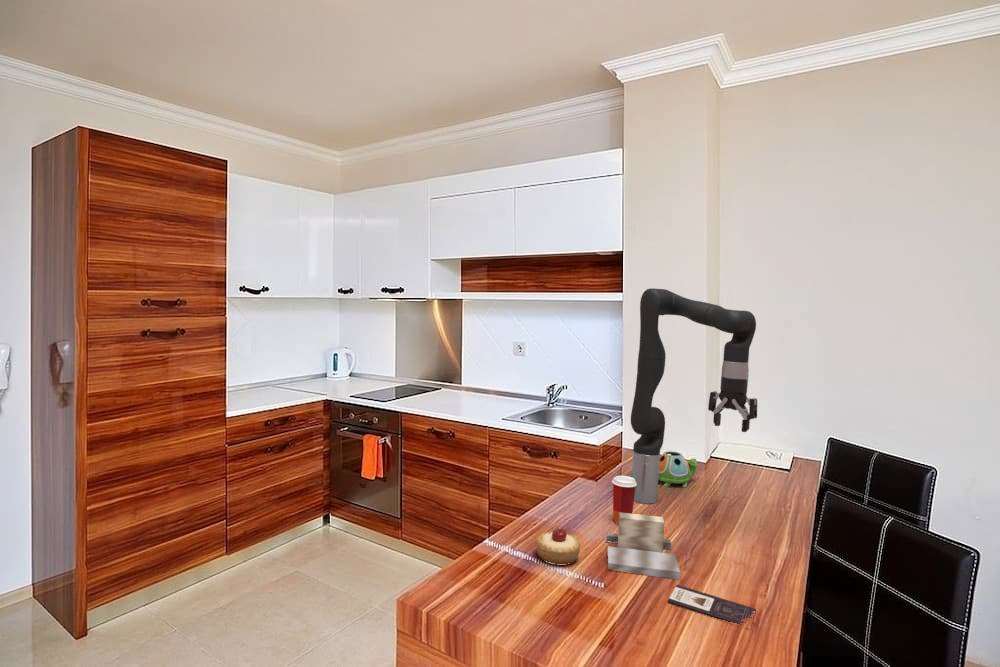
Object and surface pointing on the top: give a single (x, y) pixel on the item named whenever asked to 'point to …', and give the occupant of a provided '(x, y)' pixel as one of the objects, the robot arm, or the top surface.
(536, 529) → the top surface
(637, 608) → the top surface
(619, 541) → the beige rectangular block
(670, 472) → the turtle holder
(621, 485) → the paper cup
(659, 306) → the robot arm
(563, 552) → the pastry
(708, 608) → the chocolate bar
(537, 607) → the top surface
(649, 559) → the mating board
